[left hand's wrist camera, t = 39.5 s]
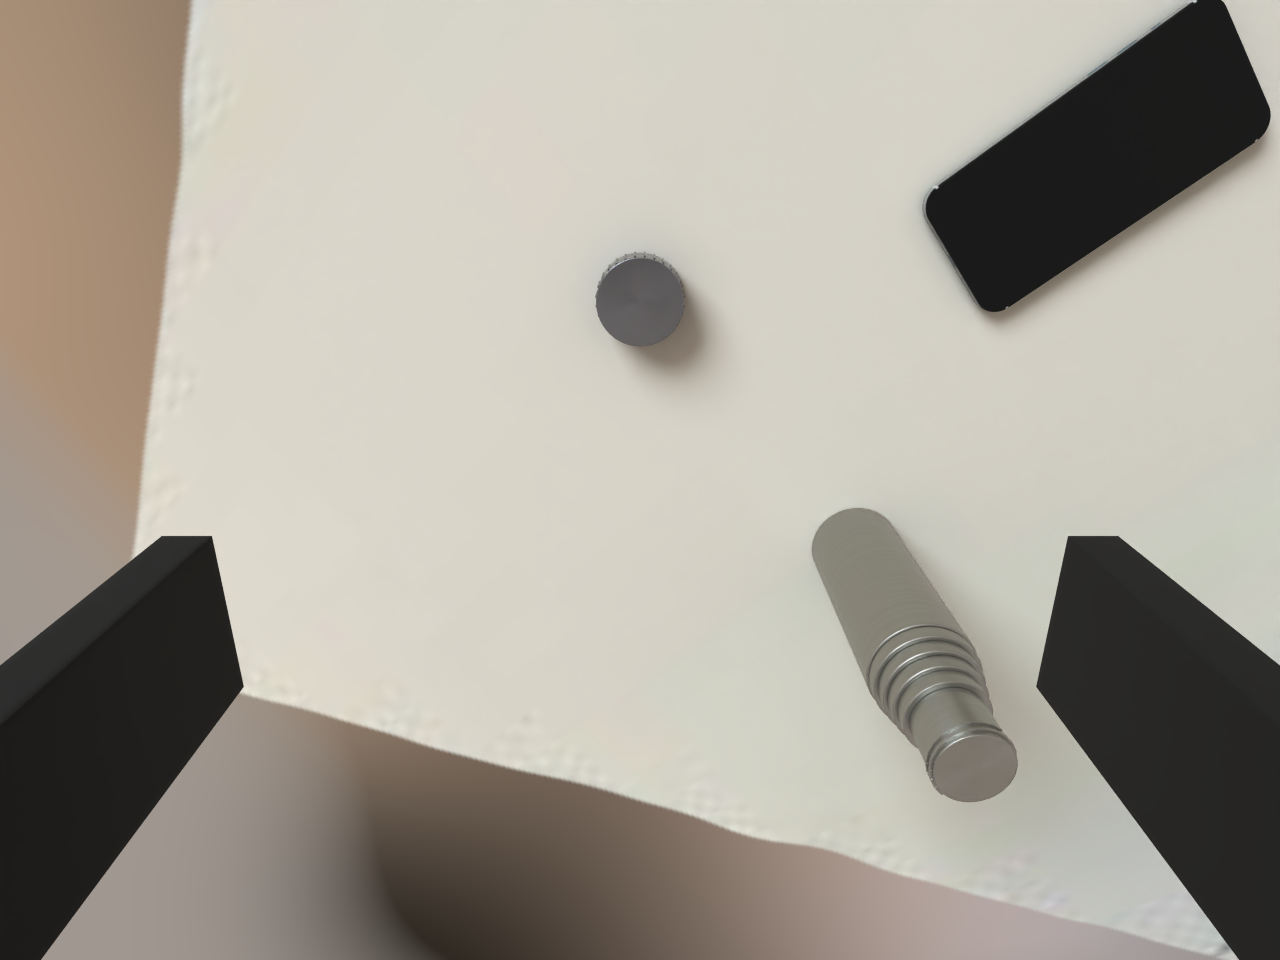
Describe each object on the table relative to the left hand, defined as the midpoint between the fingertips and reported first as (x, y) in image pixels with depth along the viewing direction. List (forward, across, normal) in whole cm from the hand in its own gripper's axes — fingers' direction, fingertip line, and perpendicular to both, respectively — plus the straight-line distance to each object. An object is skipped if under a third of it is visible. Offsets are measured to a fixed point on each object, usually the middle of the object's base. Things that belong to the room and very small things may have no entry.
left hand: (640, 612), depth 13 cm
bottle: (+31, +12, -14) cm, 36 cm away
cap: (+29, 0, 0) cm, 29 cm away
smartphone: (+31, +22, +6) cm, 38 cm away
